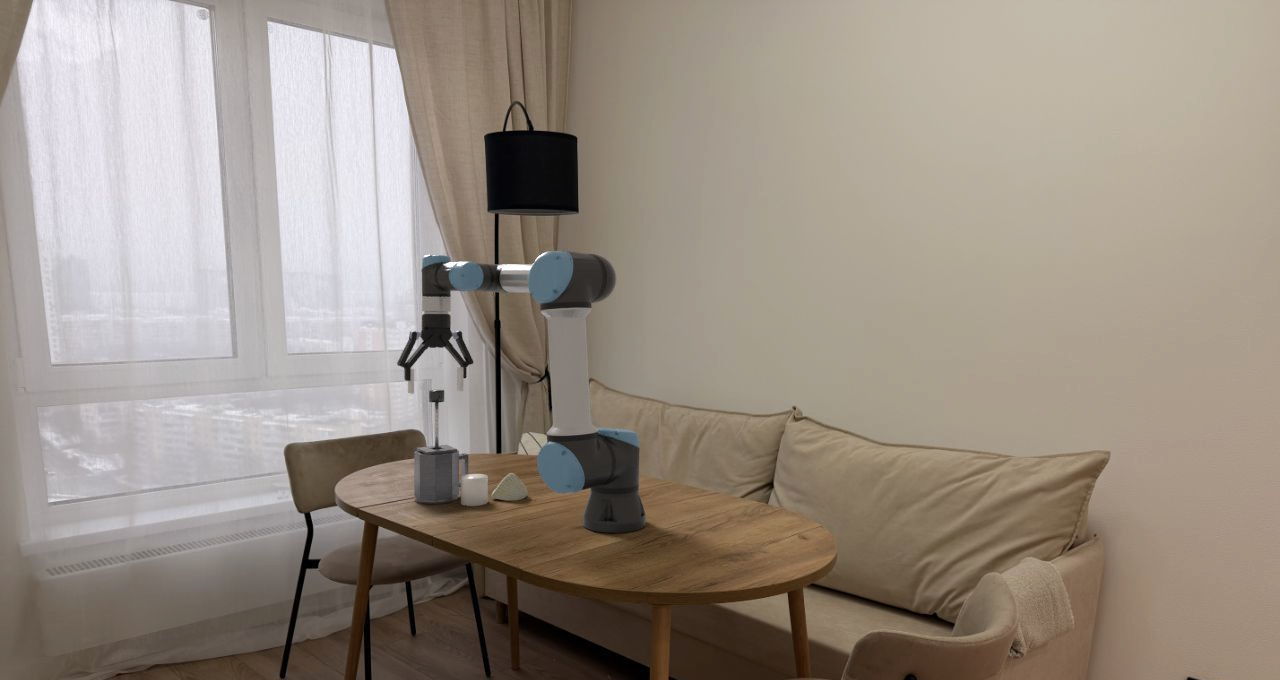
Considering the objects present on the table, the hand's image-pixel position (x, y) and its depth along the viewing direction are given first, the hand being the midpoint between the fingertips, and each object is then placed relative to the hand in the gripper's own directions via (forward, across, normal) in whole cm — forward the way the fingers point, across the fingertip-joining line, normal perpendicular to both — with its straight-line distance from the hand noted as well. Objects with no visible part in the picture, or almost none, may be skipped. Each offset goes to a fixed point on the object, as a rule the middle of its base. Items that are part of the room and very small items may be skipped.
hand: (436, 392), depth 207 cm
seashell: (+29, -18, +10) cm, 35 cm away
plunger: (+18, 0, 0) cm, 19 cm away
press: (+29, -2, +1) cm, 29 cm away
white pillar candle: (+29, -7, +10) cm, 31 cm away
